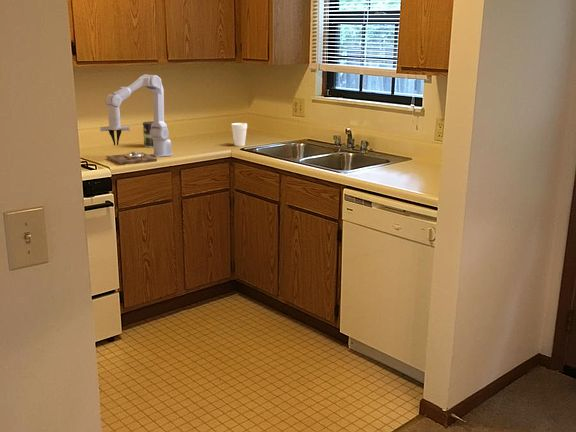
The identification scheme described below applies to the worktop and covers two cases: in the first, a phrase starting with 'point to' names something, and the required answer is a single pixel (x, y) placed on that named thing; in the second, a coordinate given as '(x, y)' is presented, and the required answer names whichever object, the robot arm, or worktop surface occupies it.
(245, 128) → the foam cup
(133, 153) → the cam dial
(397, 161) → the worktop surface
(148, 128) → the coffee can
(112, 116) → the robot arm
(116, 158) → the walnut stand
